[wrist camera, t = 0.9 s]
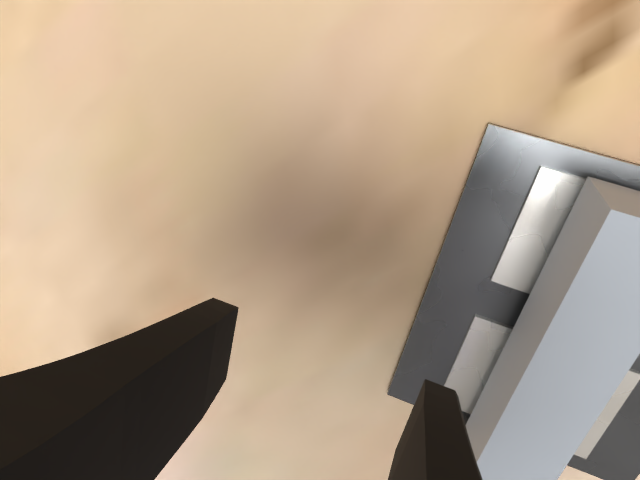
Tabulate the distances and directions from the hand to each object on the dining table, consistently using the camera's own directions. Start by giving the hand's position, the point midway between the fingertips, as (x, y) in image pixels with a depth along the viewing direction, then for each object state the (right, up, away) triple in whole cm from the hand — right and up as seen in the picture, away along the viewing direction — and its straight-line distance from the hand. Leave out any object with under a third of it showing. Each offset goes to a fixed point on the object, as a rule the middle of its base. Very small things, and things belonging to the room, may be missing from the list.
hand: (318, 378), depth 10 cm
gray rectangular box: (+8, -1, +7) cm, 11 cm away
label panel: (+9, 0, +8) cm, 12 cm away
